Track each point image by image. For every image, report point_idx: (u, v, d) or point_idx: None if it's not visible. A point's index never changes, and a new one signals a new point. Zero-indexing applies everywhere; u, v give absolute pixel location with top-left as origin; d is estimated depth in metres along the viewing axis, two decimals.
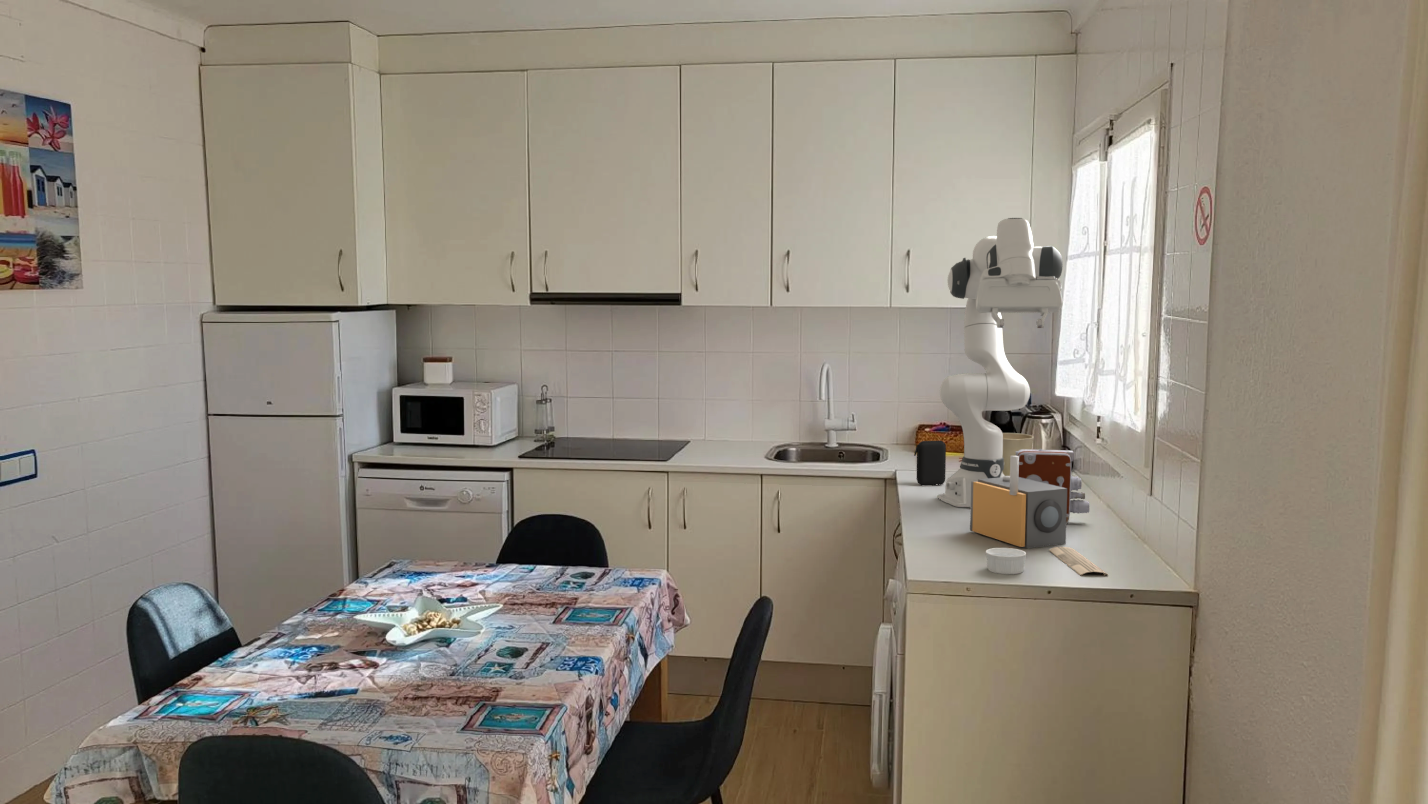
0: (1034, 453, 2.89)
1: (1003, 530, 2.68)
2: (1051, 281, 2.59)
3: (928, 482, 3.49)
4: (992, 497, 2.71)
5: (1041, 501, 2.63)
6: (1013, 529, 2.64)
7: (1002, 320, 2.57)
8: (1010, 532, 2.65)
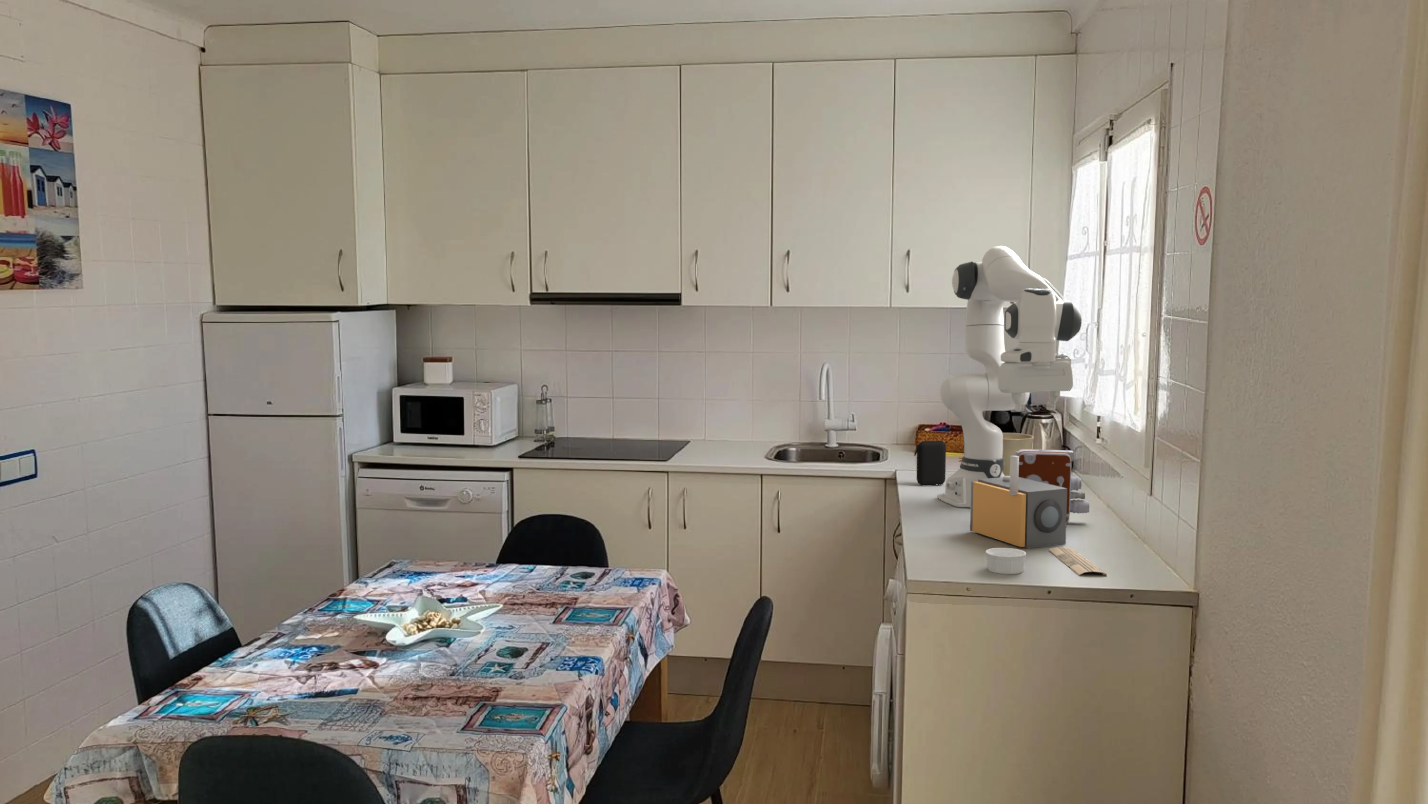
0: (1034, 453, 2.89)
1: (1003, 530, 2.68)
2: (1066, 363, 2.64)
3: (928, 482, 3.49)
4: (992, 497, 2.71)
5: (1041, 501, 2.63)
6: (1013, 529, 2.64)
7: (1023, 406, 2.61)
8: (1010, 532, 2.65)
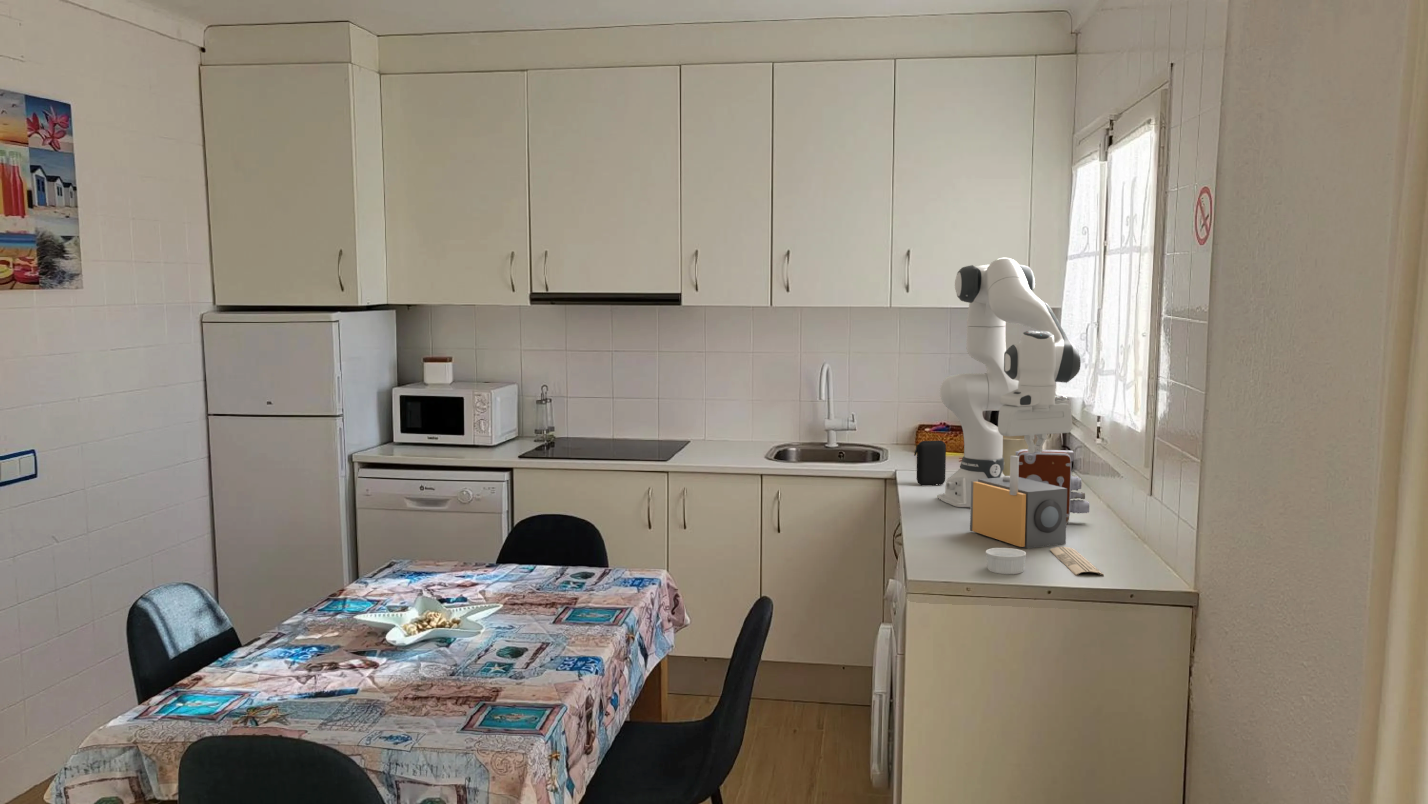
0: (1034, 453, 2.89)
1: (1003, 530, 2.68)
2: (1066, 405, 2.65)
3: (928, 482, 3.49)
4: (992, 497, 2.71)
5: (1041, 501, 2.63)
6: (1013, 529, 2.64)
7: (1036, 447, 2.63)
8: (1010, 532, 2.65)
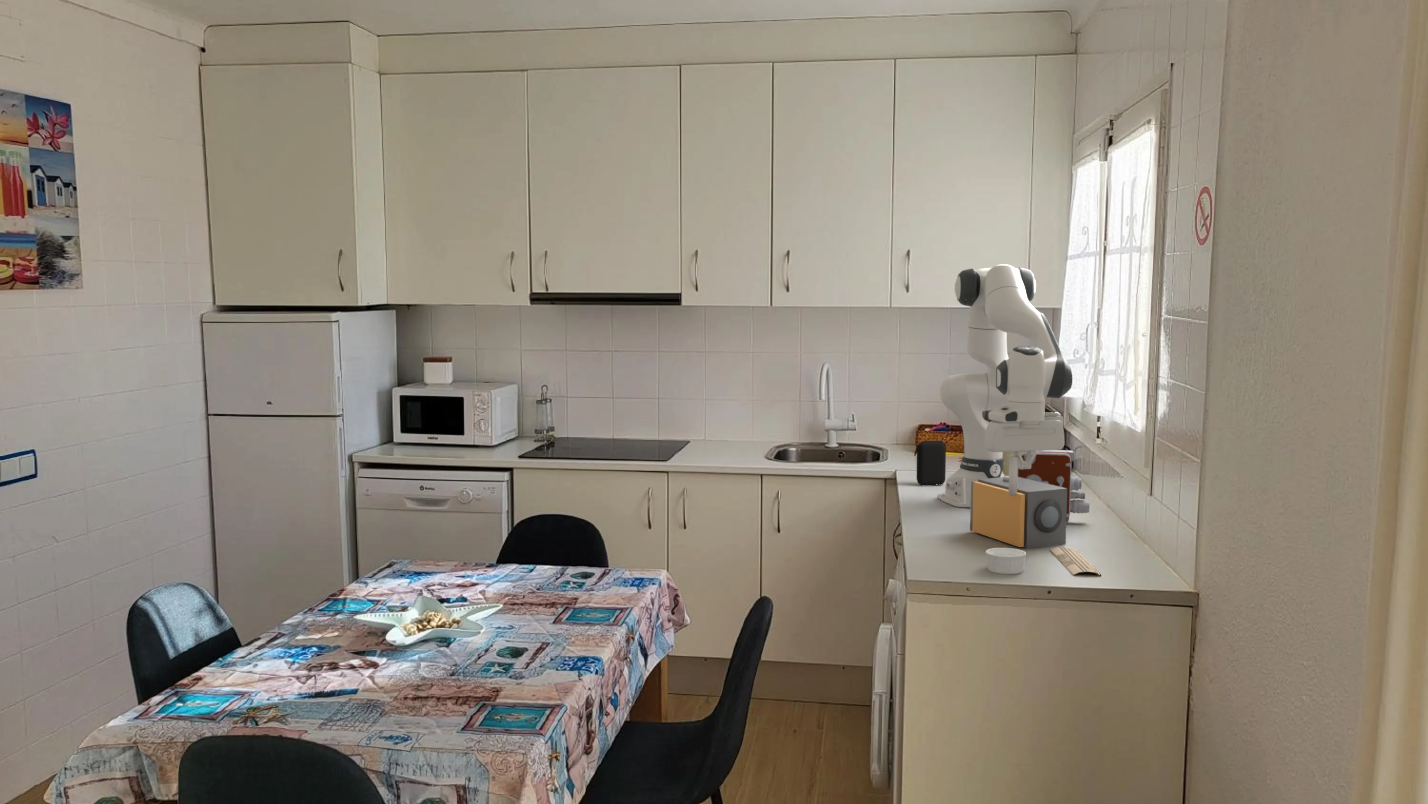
0: None
1: (1002, 530, 2.68)
2: (1057, 422, 2.63)
3: (928, 482, 3.49)
4: (991, 497, 2.71)
5: (1041, 501, 2.63)
6: (1012, 529, 2.64)
7: (1026, 464, 2.63)
8: (1009, 532, 2.65)
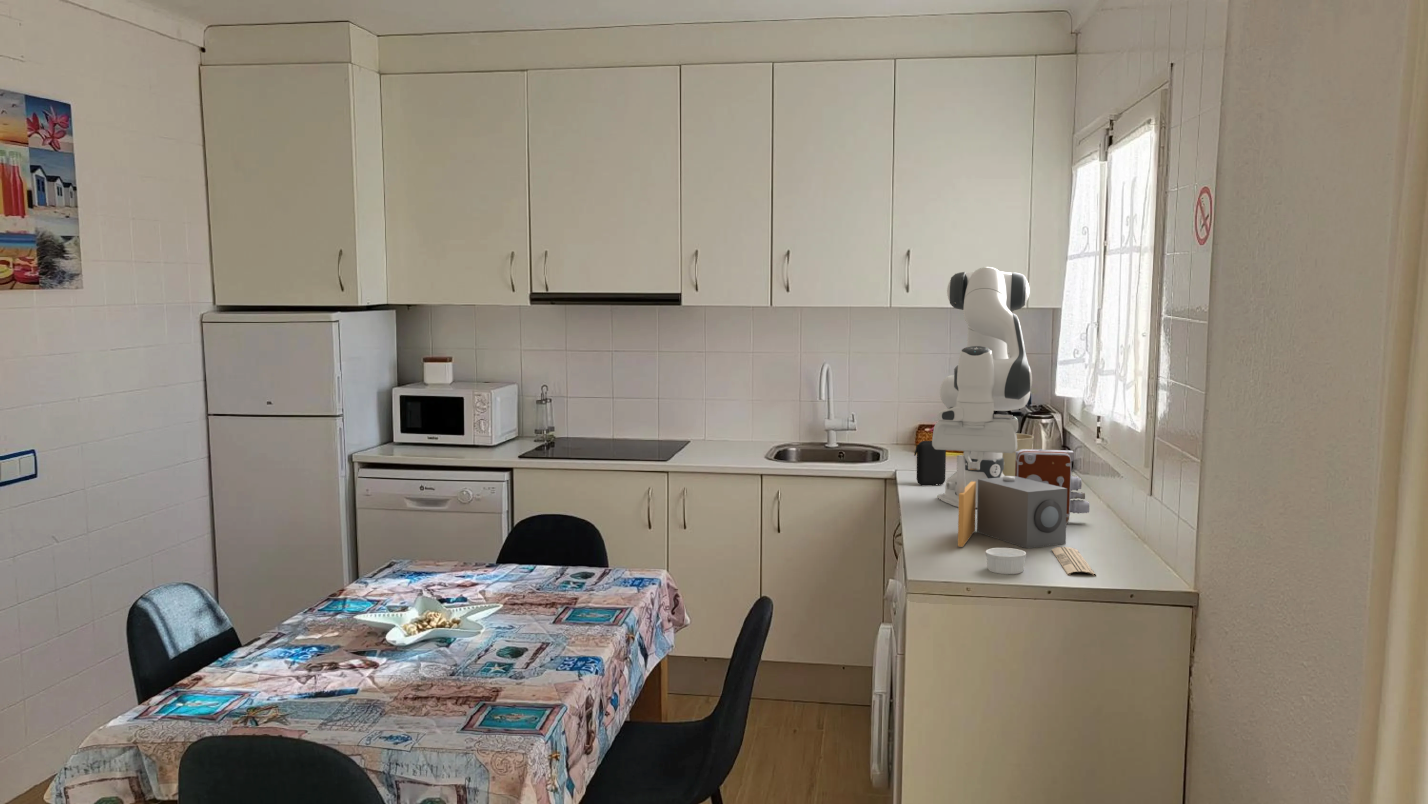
0: (1034, 453, 2.89)
1: None
2: (1006, 424, 2.57)
3: (928, 482, 3.49)
4: None
5: (1041, 501, 2.63)
6: None
7: (972, 464, 2.62)
8: None
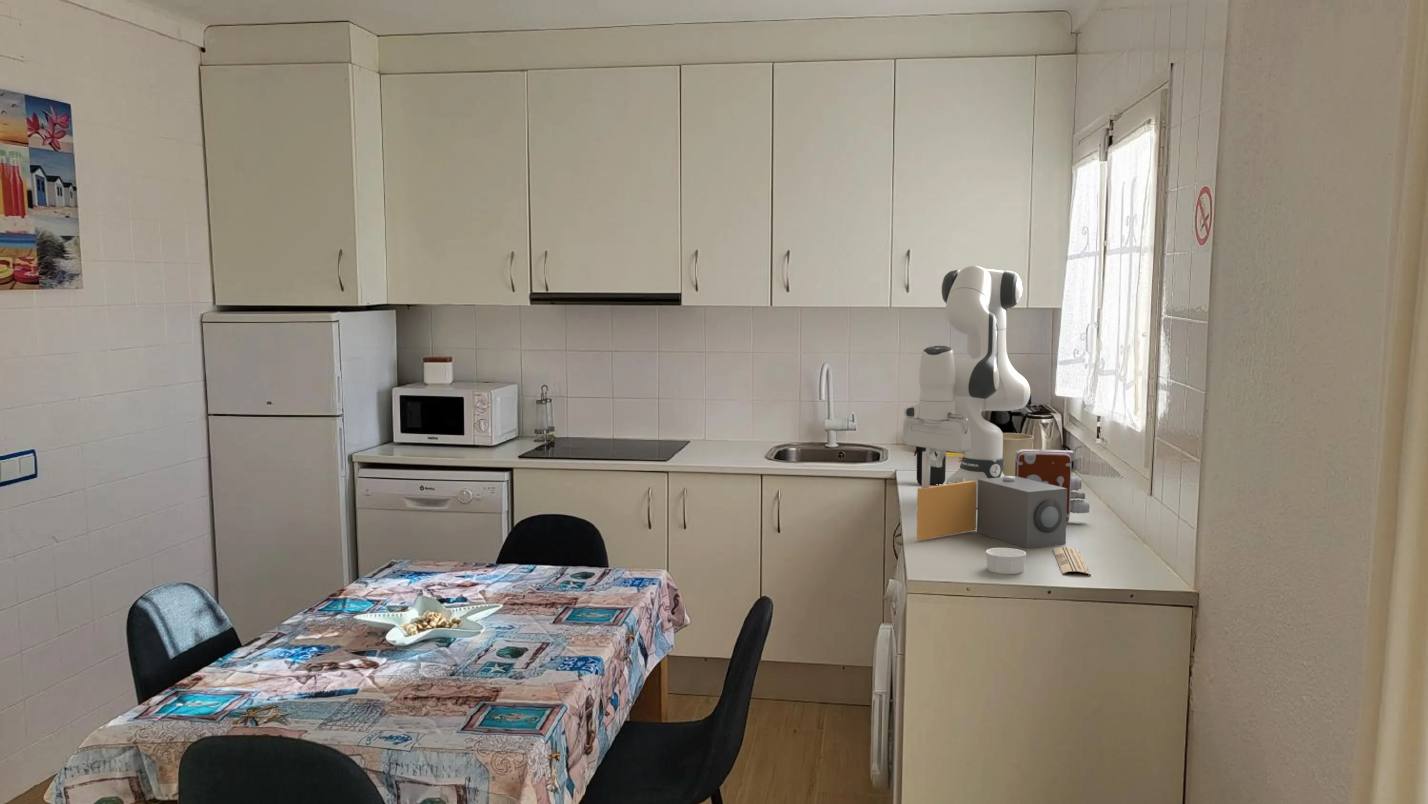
0: (1034, 453, 2.89)
1: None
2: (954, 424, 2.59)
3: None
4: None
5: (1041, 501, 2.63)
6: None
7: (932, 461, 2.67)
8: None
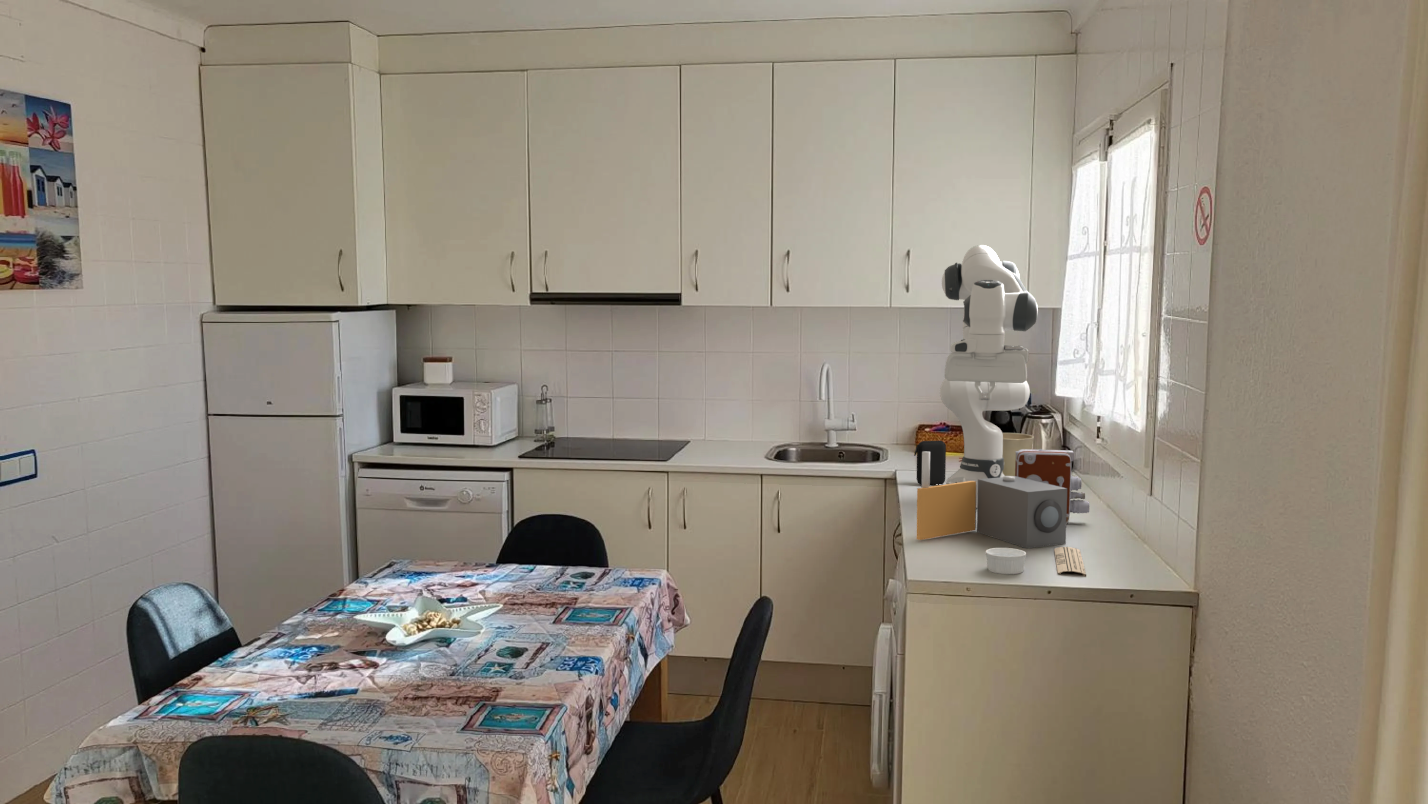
0: (1034, 453, 2.89)
1: None
2: (1017, 355, 2.66)
3: None
4: None
5: (1041, 501, 2.63)
6: None
7: (983, 394, 2.71)
8: None
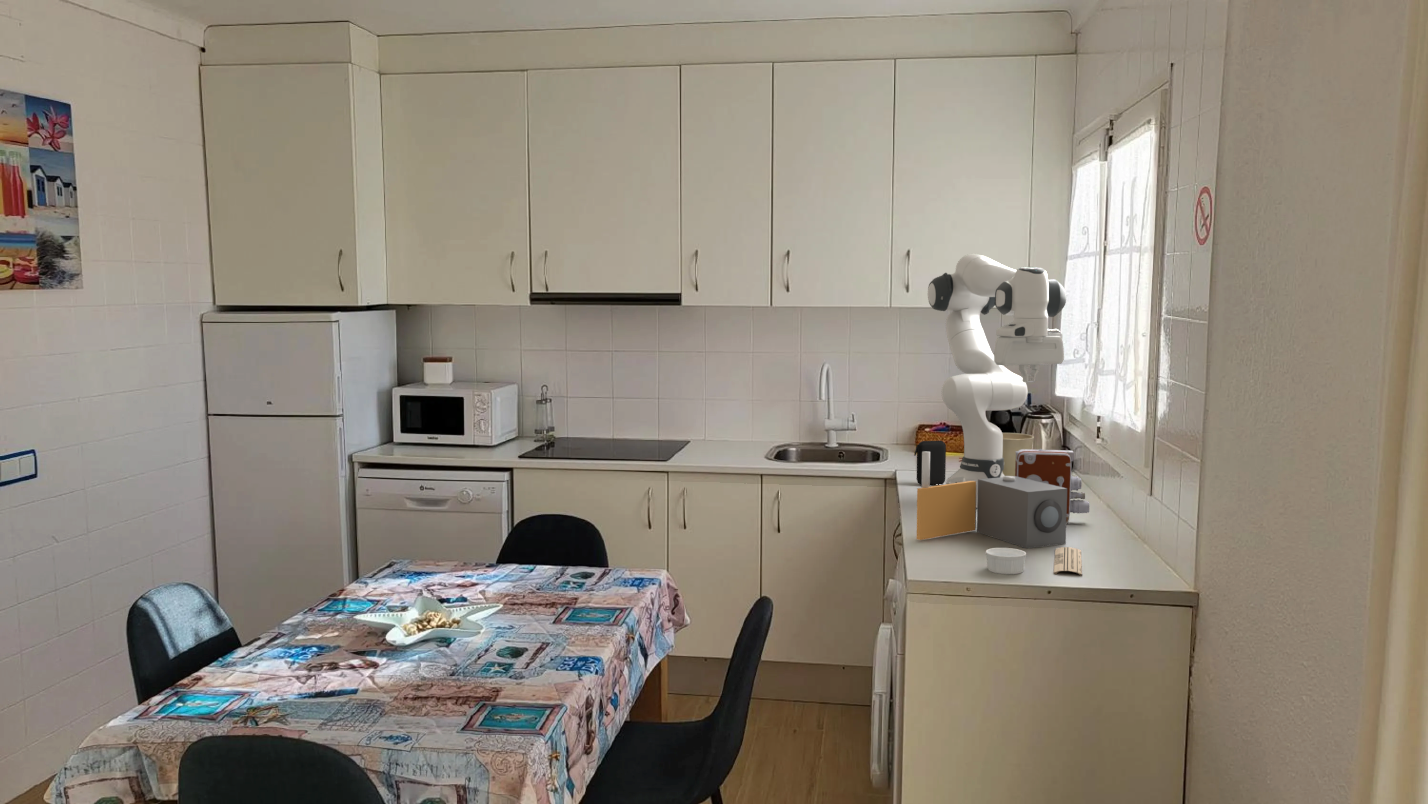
0: (1034, 453, 2.89)
1: None
2: (1058, 338, 2.81)
3: None
4: None
5: (1041, 501, 2.63)
6: None
7: (1030, 377, 2.80)
8: None
